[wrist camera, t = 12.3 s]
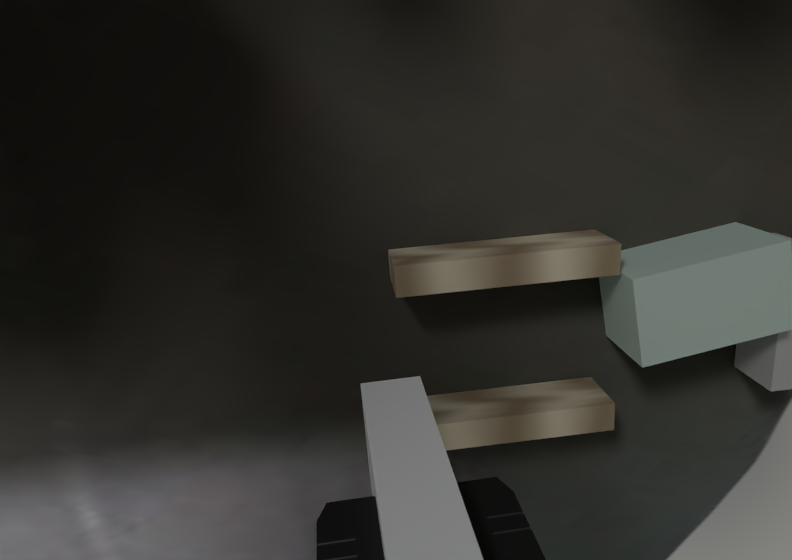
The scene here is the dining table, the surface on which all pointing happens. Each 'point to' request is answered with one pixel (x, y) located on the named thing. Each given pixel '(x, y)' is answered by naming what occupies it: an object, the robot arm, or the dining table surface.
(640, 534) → the dining table surface
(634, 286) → the block
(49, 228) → the dining table surface
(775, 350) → the grey rectangular bar
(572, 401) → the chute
